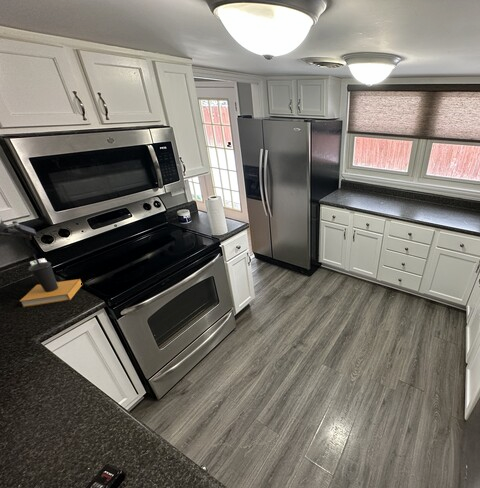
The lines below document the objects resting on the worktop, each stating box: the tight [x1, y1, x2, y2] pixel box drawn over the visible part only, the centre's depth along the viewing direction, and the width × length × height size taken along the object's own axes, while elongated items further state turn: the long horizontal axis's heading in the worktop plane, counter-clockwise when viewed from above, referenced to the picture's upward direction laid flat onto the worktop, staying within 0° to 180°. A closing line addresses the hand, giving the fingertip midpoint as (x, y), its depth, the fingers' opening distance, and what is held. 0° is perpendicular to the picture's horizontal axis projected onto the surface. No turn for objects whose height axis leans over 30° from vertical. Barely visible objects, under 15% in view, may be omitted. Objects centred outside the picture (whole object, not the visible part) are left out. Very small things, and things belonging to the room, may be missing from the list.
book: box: [19, 278, 83, 308], centre depth 133 cm, size 18×14×4 cm
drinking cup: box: [28, 253, 58, 292], centre depth 128 cm, size 8×8×20 cm
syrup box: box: [29, 257, 58, 282], centre depth 138 cm, size 6×6×14 cm
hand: (3, 248), depth 103 cm, fingers open, 13 cm apart
